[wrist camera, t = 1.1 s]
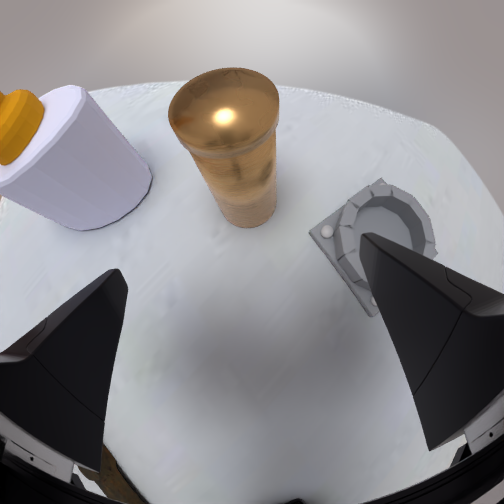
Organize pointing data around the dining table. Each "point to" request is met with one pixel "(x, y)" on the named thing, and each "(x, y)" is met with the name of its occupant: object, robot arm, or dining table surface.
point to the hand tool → (111, 480)
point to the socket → (377, 221)
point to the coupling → (232, 139)
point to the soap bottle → (68, 159)
